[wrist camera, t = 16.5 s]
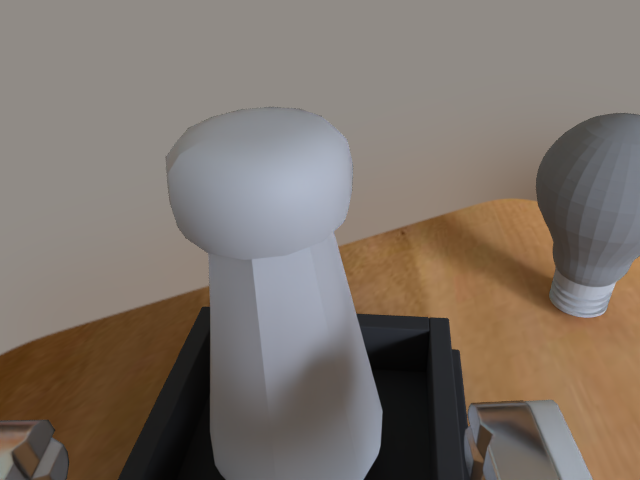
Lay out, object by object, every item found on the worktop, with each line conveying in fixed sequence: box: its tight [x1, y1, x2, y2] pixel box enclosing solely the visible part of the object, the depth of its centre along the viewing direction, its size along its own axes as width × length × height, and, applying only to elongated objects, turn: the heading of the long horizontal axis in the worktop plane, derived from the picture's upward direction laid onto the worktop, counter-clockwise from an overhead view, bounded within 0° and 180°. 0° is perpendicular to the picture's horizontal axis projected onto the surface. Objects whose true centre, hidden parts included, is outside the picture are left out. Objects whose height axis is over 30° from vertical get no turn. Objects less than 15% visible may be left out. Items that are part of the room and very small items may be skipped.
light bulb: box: [536, 113, 640, 318], centre depth 23 cm, size 6×6×10 cm
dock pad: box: [118, 307, 469, 480], centre depth 18 cm, size 12×12×4 cm
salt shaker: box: [166, 107, 383, 480], centre depth 15 cm, size 6×6×13 cm
